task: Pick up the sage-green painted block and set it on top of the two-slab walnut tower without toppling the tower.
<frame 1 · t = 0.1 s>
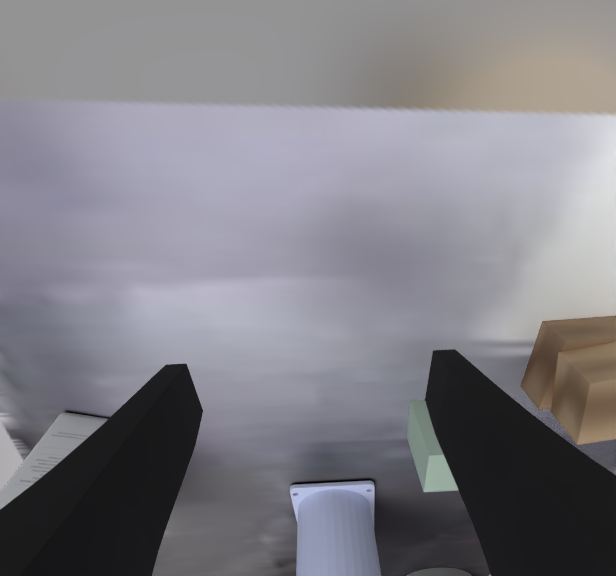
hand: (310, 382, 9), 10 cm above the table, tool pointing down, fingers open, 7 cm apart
tower base: (570, 349, 22), on the table, touching tower top
tower top: (601, 375, 20), point 2 cm above the table, touching tower base
skincare box: (109, 444, 27), on the table
block: (435, 417, 25), on the table
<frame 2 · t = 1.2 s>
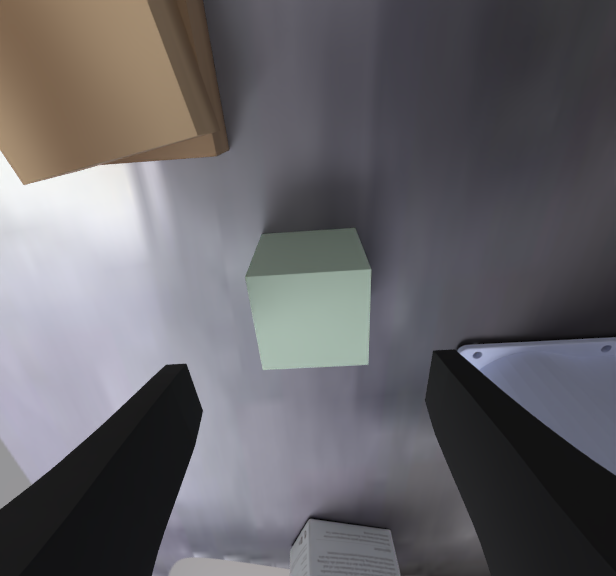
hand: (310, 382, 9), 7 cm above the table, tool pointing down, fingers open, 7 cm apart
tower base: (140, 70, 12), on the table
tower top: (103, 57, 10), point 2 cm above the table
skincare box: (341, 534, 30), on the table
block: (311, 271, 16), on the table
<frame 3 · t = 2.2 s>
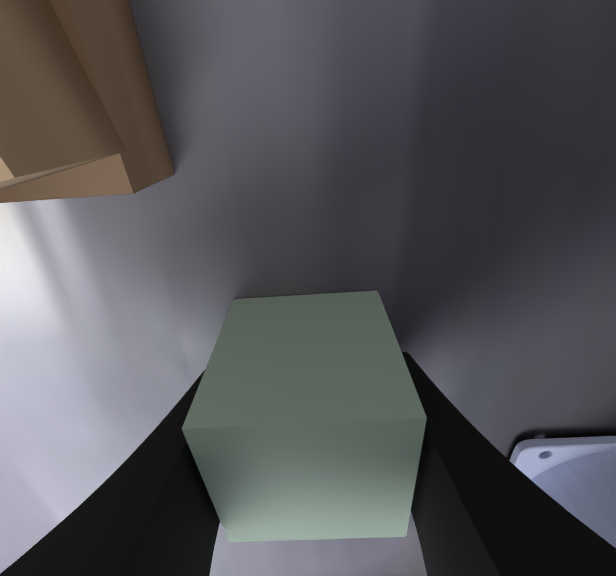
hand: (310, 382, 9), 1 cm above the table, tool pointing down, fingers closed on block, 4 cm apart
tower base: (7, 36, 7), on the table, touching tower top
block: (309, 350, 11), on the table, touching gripper
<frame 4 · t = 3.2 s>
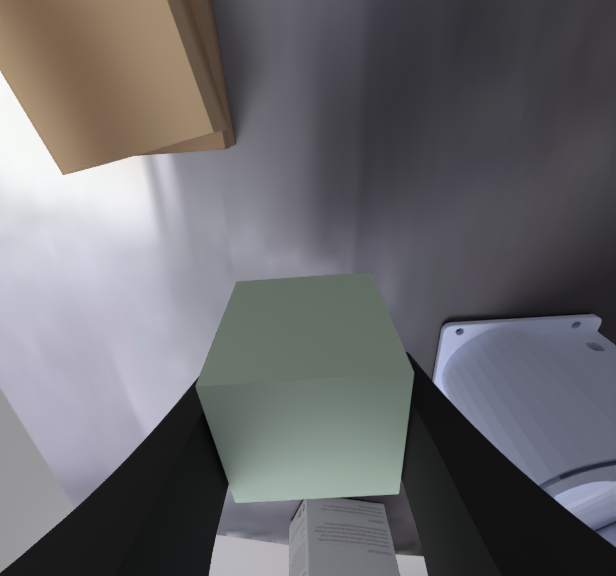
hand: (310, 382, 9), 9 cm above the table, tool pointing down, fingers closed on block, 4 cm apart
tower base: (156, 72, 14), on the table, touching tower top
tower top: (130, 65, 11), point 2 cm above the table, touching tower base
skincare box: (337, 509, 31), on the table
block: (308, 331, 11), point 7 cm above the table, touching gripper
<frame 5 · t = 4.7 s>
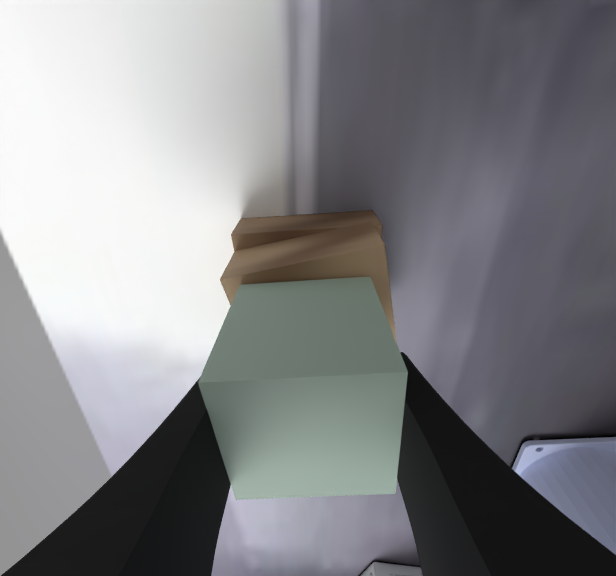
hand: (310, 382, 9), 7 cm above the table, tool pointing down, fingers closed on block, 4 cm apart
tower base: (310, 269, 16), on the table
tower top: (316, 295, 14), point 2 cm above the table
skincare box: (397, 572, 34), on the table
block: (309, 333, 12), point 5 cm above the table, touching gripper
when the fingers open (7 cm above the table, at t = 5.1 s): block stays where it is, resting on tower top.
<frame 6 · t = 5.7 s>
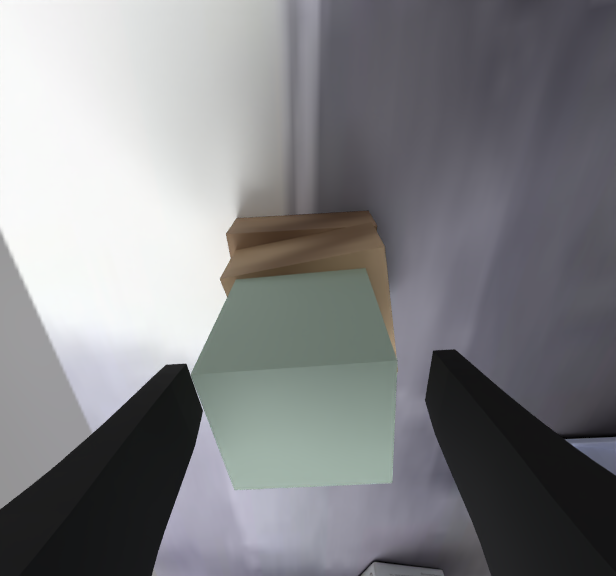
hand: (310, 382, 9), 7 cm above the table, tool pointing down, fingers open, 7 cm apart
tower base: (306, 269, 16), on the table, touching tower top
tower top: (315, 295, 14), point 2 cm above the table, touching block, tower base
skincare box: (397, 573, 34), on the table
block: (306, 326, 12), point 5 cm above the table, touching tower top
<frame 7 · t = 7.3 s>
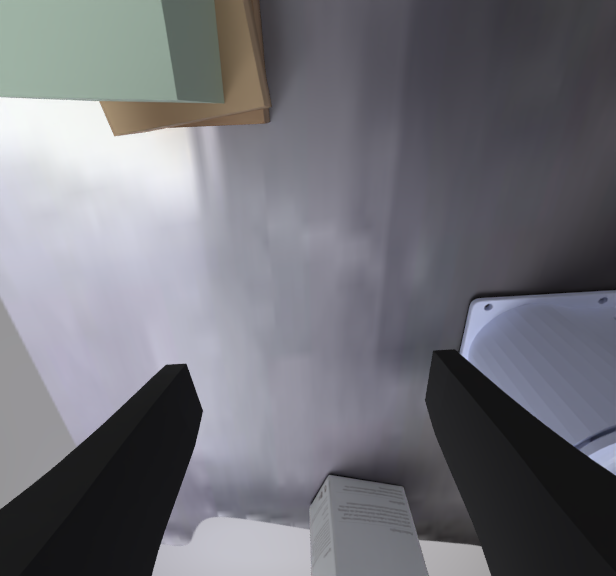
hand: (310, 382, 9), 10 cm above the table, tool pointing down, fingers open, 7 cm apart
tower base: (198, 49, 14), on the table, touching tower top
tower top: (184, 37, 12), point 2 cm above the table, touching tower base
skincare box: (357, 492, 32), on the table
block: (145, 19, 10), point 5 cm above the table
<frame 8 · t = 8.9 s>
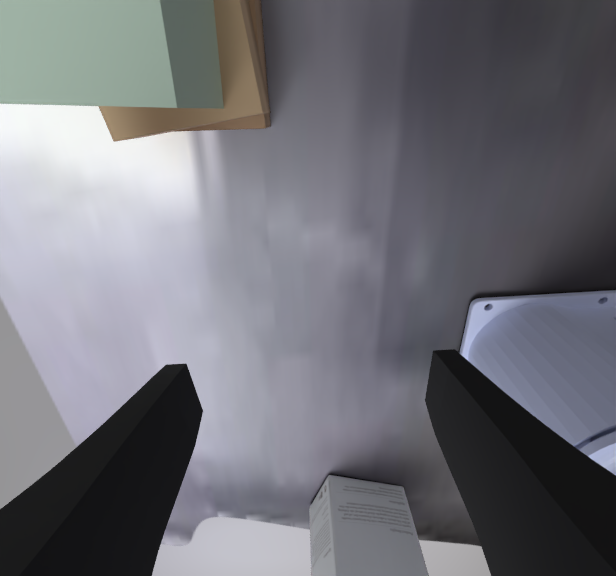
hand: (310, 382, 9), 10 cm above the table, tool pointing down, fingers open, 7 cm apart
tower base: (199, 53, 14), on the table, touching tower top
tower top: (183, 43, 12), point 2 cm above the table, touching block, tower base
skincare box: (357, 492, 32), on the table
block: (145, 26, 10), point 5 cm above the table, touching tower top
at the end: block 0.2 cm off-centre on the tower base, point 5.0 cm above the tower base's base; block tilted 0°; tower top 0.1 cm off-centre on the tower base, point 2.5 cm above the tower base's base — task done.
